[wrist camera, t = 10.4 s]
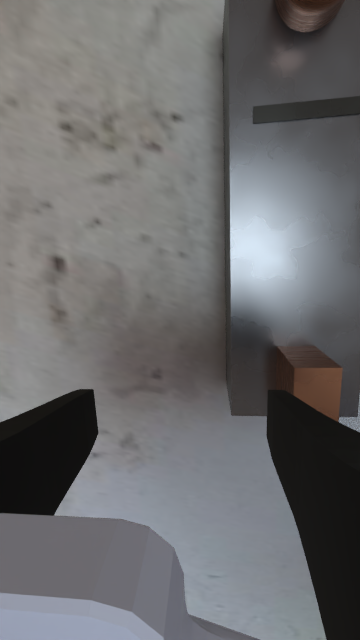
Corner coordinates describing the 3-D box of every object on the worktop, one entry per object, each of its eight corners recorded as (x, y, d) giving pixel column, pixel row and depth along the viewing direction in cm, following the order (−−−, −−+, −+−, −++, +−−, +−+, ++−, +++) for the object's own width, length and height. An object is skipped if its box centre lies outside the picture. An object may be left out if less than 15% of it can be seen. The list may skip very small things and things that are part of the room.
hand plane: (348, 17, 16) (475, -201, 8) (325, 383, 20) (393, 454, 13) (222, 33, 17) (235, -155, 9) (226, 383, 21) (237, 451, 14)
